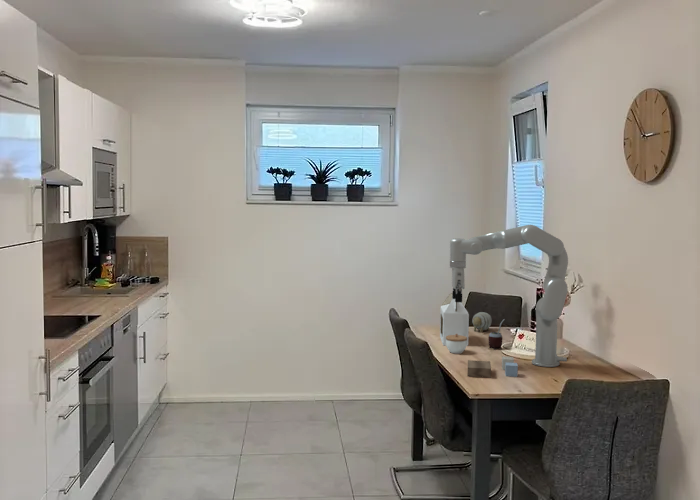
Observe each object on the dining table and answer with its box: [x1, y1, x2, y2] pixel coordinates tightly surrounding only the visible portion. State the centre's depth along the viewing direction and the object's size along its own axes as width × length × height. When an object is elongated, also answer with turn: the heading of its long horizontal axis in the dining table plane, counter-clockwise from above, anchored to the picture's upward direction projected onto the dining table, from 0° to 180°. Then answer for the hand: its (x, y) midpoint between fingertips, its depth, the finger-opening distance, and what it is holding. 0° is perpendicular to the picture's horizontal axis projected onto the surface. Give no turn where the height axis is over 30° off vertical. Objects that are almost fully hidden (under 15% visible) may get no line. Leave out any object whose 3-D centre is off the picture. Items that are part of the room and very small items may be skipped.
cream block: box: [501, 355, 515, 371], centre depth 301 cm, size 5×5×5 cm
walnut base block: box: [466, 359, 492, 379], centre depth 293 cm, size 10×13×4 cm
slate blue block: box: [504, 362, 519, 378], centre depth 290 cm, size 5×5×5 cm
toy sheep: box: [472, 311, 493, 333], centre depth 385 cm, size 11×17×11 cm, turn 141°
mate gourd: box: [488, 318, 506, 351], centre depth 341 cm, size 8×8×15 cm
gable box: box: [439, 292, 470, 347], centre depth 356 cm, size 22×13×28 cm, turn 177°
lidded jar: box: [445, 334, 467, 354], centre depth 332 cm, size 11×11×9 cm
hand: (457, 300), depth 312 cm, fingers open, 9 cm apart
